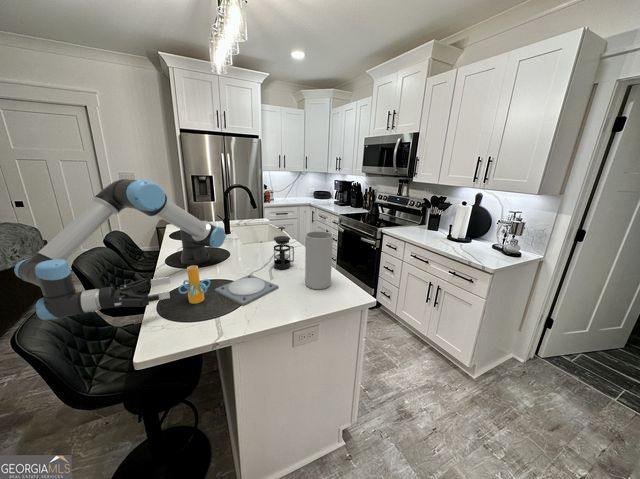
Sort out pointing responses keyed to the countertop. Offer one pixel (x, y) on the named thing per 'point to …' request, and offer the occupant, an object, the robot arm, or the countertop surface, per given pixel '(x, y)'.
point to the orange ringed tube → (194, 286)
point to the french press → (282, 252)
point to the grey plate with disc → (246, 289)
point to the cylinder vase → (318, 259)
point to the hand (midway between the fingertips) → (169, 286)
